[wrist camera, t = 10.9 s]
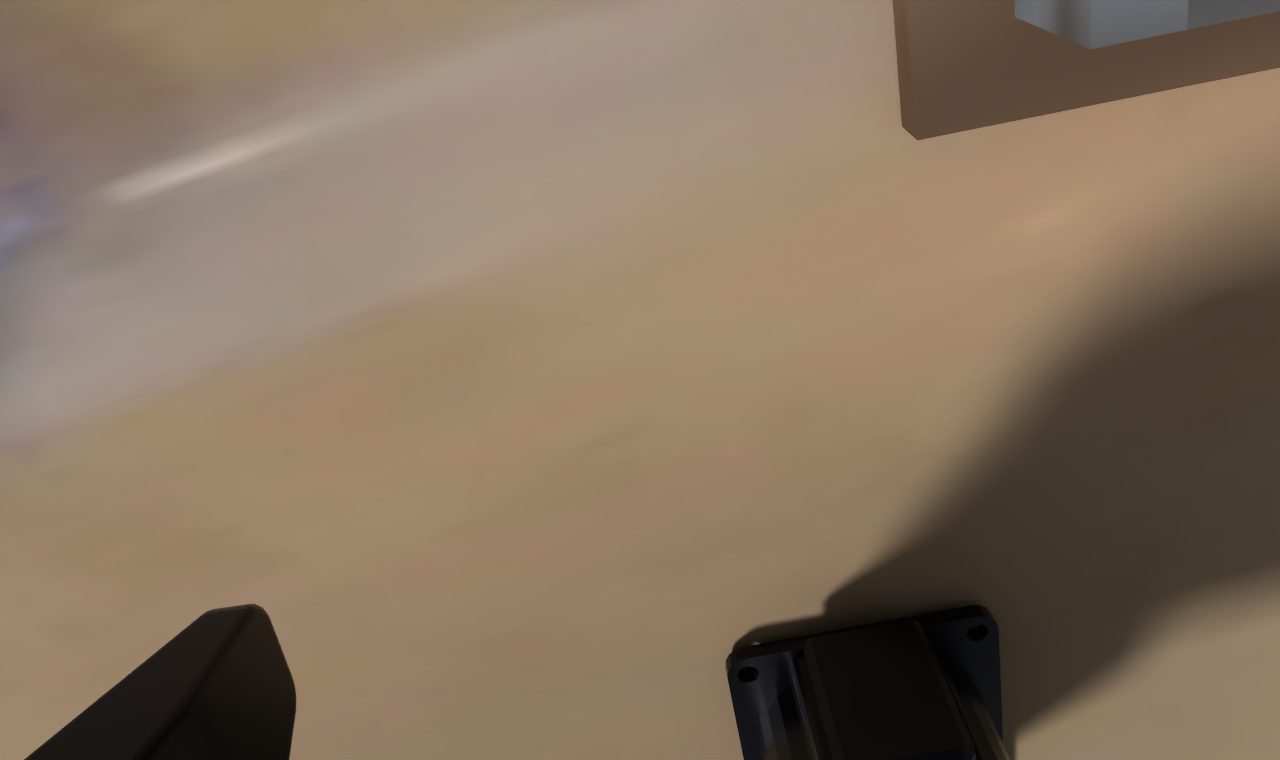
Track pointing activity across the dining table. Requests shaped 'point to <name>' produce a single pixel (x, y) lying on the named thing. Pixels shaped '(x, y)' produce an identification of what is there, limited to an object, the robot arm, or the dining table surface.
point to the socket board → (1066, 54)
